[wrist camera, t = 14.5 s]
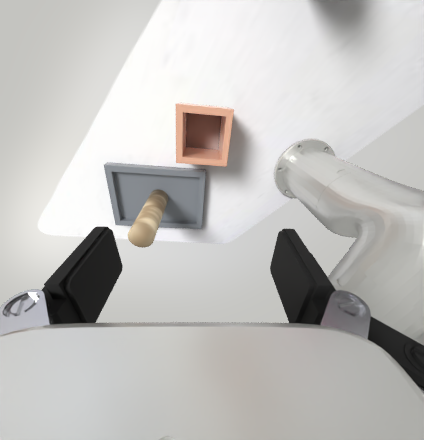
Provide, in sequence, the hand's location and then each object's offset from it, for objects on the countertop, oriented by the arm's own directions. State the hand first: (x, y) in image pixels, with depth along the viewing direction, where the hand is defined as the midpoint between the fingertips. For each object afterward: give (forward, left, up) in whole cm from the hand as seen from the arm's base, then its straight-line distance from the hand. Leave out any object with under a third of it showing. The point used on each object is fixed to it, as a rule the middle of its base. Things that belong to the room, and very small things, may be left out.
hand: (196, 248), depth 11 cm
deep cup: (0, -2, -32) cm, 32 cm away
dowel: (+9, +12, -32) cm, 35 cm away
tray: (+9, +12, -32) cm, 36 cm away
